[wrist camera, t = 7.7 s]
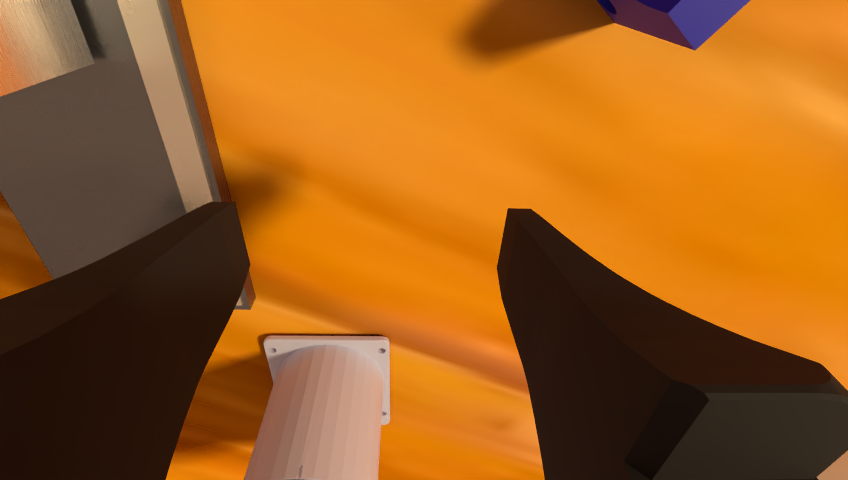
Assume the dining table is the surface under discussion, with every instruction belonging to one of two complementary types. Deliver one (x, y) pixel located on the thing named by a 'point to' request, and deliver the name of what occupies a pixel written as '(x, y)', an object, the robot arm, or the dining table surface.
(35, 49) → the leg
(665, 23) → the cable clip
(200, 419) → the dining table surface
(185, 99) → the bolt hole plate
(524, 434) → the dining table surface
